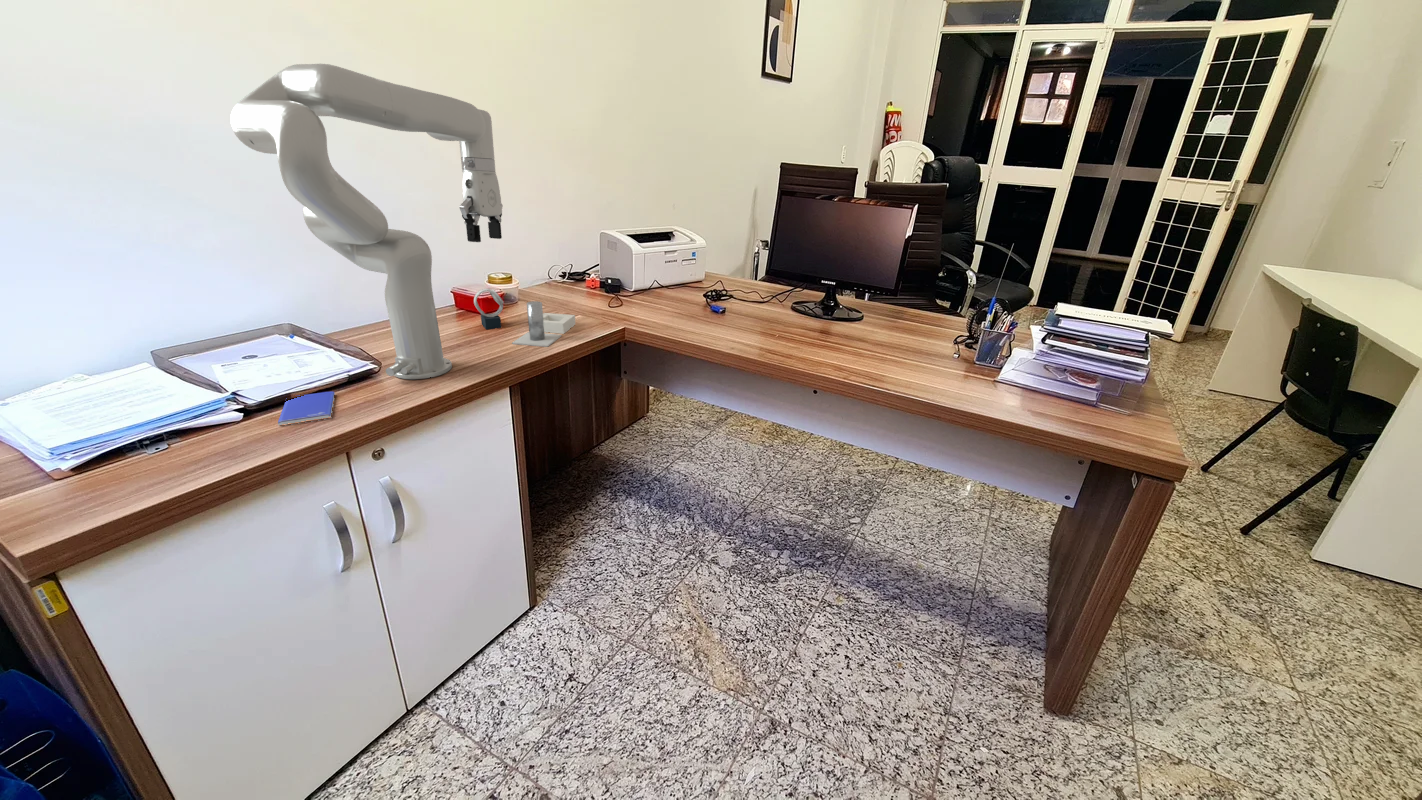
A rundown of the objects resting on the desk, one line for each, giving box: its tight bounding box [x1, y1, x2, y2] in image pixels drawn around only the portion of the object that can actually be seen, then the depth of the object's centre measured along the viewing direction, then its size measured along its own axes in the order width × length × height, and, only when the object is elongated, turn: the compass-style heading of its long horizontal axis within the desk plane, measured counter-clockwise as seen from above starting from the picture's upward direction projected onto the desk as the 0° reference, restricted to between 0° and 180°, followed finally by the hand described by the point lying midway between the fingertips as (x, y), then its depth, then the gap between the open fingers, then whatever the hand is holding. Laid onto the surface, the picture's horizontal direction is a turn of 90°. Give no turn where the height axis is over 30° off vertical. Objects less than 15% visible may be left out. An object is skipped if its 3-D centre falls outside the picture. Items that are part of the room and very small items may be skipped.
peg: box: [526, 300, 546, 341], centre depth 151 cm, size 4×4×10 cm
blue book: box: [277, 391, 336, 426], centre depth 109 cm, size 2×8×12 cm
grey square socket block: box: [543, 312, 576, 335], centre depth 164 cm, size 10×10×3 cm
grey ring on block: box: [473, 288, 505, 330], centre depth 161 cm, size 6×8×11 cm
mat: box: [511, 331, 562, 348], centre depth 153 cm, size 10×10×1 cm
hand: (485, 240), depth 139 cm, fingers open, 9 cm apart
